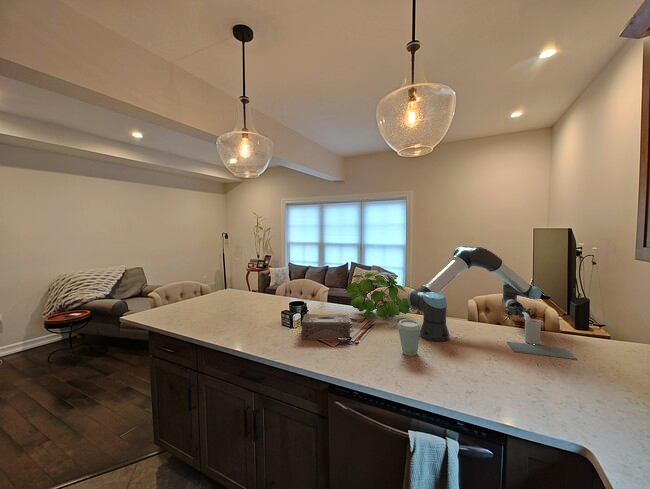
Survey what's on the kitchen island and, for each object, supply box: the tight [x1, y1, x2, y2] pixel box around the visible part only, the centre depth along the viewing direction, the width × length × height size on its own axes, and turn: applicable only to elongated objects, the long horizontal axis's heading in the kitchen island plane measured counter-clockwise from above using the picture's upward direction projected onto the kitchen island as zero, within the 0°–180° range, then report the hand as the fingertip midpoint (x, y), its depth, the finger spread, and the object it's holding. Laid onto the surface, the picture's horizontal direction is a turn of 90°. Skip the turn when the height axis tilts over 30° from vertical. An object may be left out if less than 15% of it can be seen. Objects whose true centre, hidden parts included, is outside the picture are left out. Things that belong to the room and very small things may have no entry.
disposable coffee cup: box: [397, 318, 422, 357], centre depth 128 cm, size 11×11×15 cm
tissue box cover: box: [301, 313, 351, 341], centre depth 151 cm, size 26×14×10 cm, turn 88°
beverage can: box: [524, 318, 542, 345], centre depth 139 cm, size 6×6×12 cm
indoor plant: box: [345, 271, 411, 319], centre depth 189 cm, size 44×42×30 cm
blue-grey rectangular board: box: [506, 341, 578, 360], centre depth 130 cm, size 24×12×1 cm, turn 69°
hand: (527, 317), depth 145 cm, fingers closed
